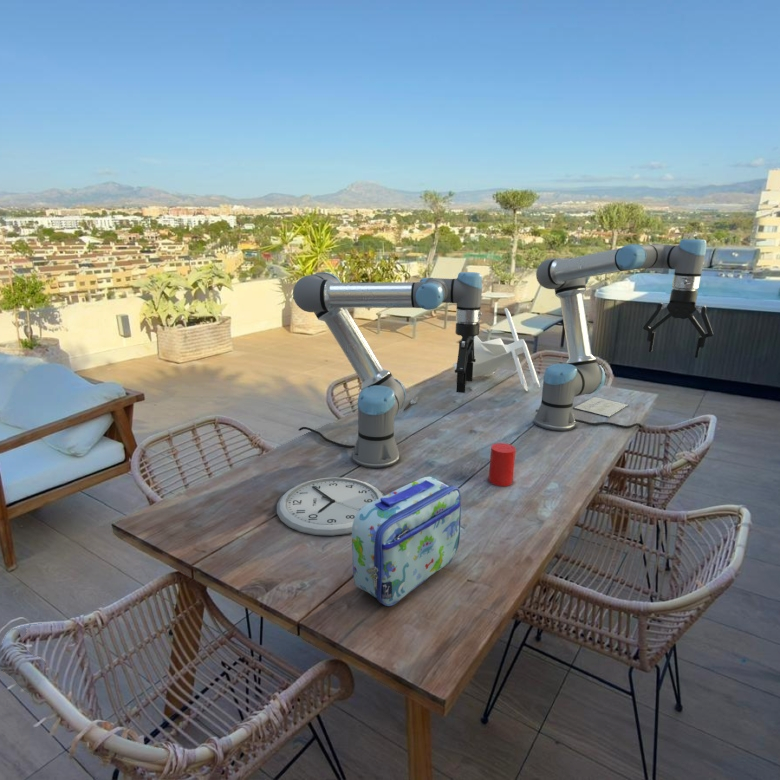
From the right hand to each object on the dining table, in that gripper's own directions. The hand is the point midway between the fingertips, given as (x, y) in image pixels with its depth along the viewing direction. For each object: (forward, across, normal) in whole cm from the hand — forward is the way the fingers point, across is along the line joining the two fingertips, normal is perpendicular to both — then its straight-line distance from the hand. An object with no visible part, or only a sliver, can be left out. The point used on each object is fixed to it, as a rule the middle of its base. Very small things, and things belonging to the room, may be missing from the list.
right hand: (673, 354), depth 173 cm
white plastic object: (+34, -77, +40) cm, 93 cm away
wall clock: (+34, -69, -94) cm, 122 cm away
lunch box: (+34, -36, -109) cm, 120 cm away
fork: (+34, -94, -11) cm, 101 cm away
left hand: (+11, -56, -41) cm, 70 cm away
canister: (+34, -36, -54) cm, 74 cm away
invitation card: (+34, -26, +37) cm, 56 cm away
